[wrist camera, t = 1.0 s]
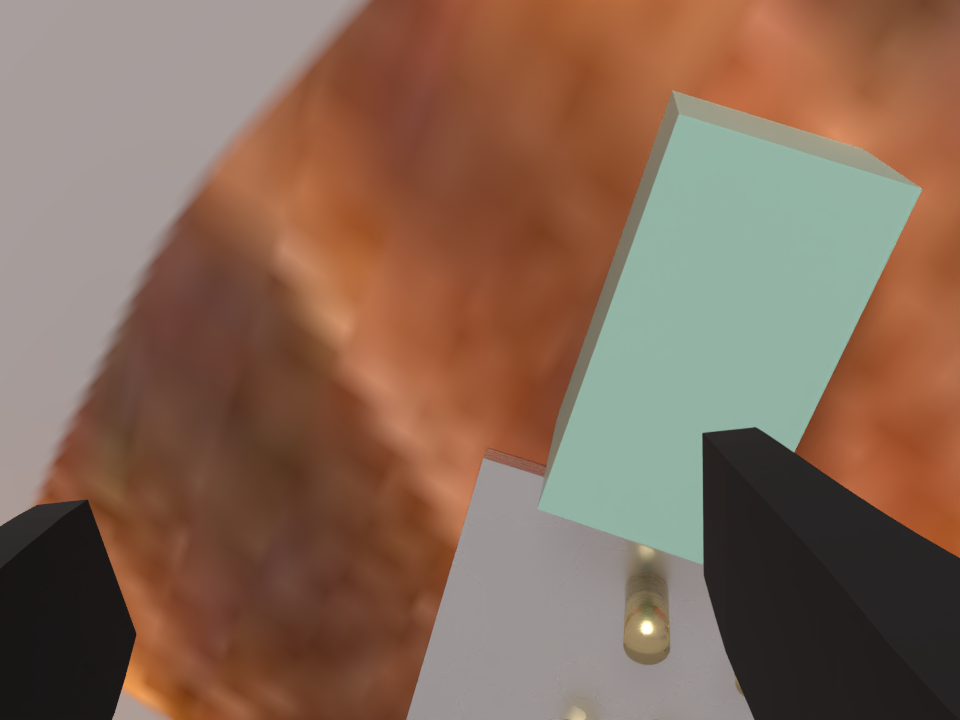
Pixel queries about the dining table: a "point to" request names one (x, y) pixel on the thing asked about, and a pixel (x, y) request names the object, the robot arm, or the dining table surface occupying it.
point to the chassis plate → (562, 621)
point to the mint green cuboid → (717, 313)
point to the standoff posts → (648, 620)
